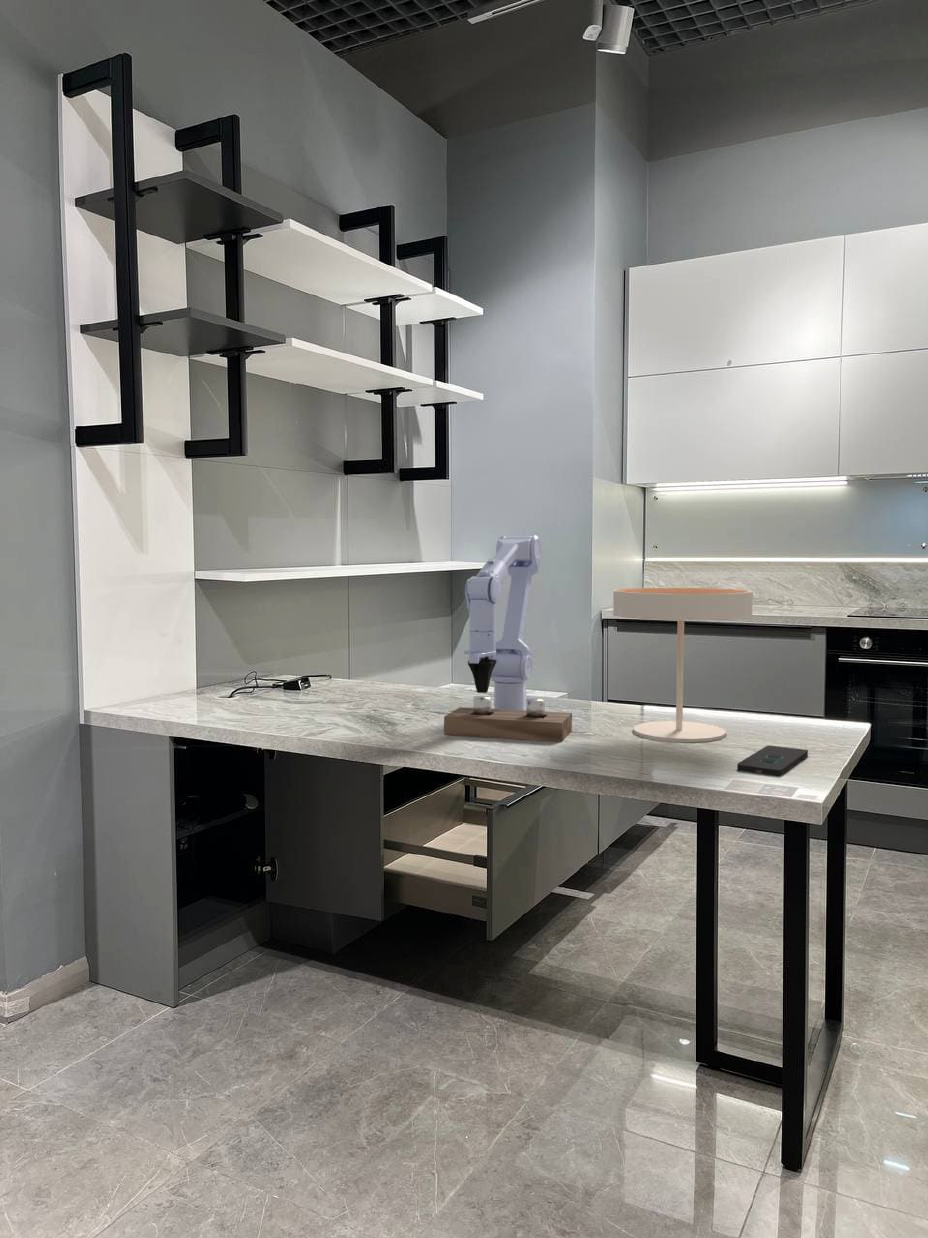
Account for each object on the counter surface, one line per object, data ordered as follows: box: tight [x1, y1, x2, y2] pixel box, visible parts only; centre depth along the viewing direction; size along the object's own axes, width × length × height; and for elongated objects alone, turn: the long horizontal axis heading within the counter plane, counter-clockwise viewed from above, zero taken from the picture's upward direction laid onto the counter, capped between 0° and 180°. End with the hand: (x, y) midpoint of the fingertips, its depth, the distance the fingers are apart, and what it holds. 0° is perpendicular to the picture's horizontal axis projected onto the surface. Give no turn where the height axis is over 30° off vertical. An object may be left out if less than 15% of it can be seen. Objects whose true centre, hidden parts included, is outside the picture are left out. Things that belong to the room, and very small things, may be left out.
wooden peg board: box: [443, 706, 573, 742], centre depth 207 cm, size 12×26×4 cm, turn 74°
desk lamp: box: [612, 587, 754, 743], centre depth 205 cm, size 30×30×31 cm
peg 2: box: [526, 697, 546, 718], centre depth 205 cm, size 4×4×4 cm
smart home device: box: [736, 745, 809, 777], centre depth 178 cm, size 8×2×20 cm
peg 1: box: [472, 695, 492, 716], centre depth 208 cm, size 4×4×4 cm
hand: (482, 692), depth 208 cm, fingers closed
